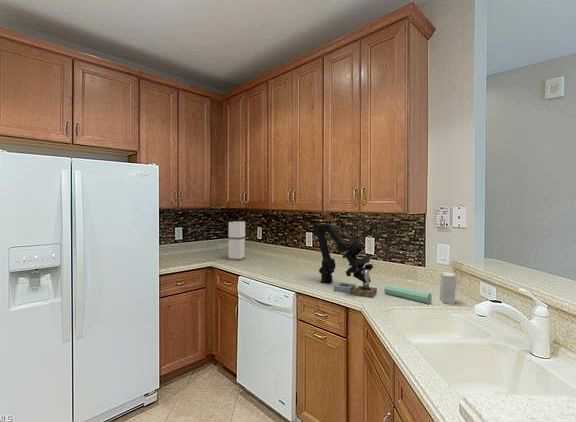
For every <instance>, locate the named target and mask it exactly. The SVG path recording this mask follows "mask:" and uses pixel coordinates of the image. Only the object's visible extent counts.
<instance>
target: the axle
mask: <svg viewBox="0 0 576 422" xmlns="http://www.w3.org/2000/svg"><path fill="white" fill-rule="evenodd" d="M363 277H364V278H365V280H366V283H364V282H362V286H363V290H367V291H369V287H370V282H369V277H370V271H369V270H368V269H363Z"/></svg>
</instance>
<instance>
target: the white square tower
mask: <svg viewBox="0 0 576 422" xmlns="http://www.w3.org/2000/svg"><path fill="white" fill-rule="evenodd" d="M245 241H246V221H236V220H235V221H228V261H230V260H235V261H234V262H241V260H242V261H244V260H246V257H245V256H246V255H245V252H246V251H245V248H246V247H245Z"/></svg>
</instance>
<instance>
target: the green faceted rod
mask: <svg viewBox="0 0 576 422" xmlns="http://www.w3.org/2000/svg"><path fill="white" fill-rule="evenodd" d="M383 289H384V291H383V292H384V293H385V294H386V295H389V296H394V297H399V298H401V299H402V298H403V299H407V300H411V301H414V302H415V301H416V302H419V303H424V304H426V305H430V304H431V302H432V300H433V299H432V298H433V296H432V294H431V292H428V293H427V292H423V291H422V292H421V291H416V290H412V289H406V288H401V287H397V286H392V285H386V286H385V287H384V288H383ZM429 303H430V304H429Z"/></svg>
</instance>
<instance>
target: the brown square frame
mask: <svg viewBox="0 0 576 422" xmlns="http://www.w3.org/2000/svg"><path fill="white" fill-rule="evenodd" d="M377 292H378V289H377V287H372V286H371V287H370V286H369V291H367V290H363V285H359V286H358V287H356V288H355V290H354V295H355V297H356V296H358V297H364V298H369V297H370V298H372V299H373V298H375V296H376V295H377Z"/></svg>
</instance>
